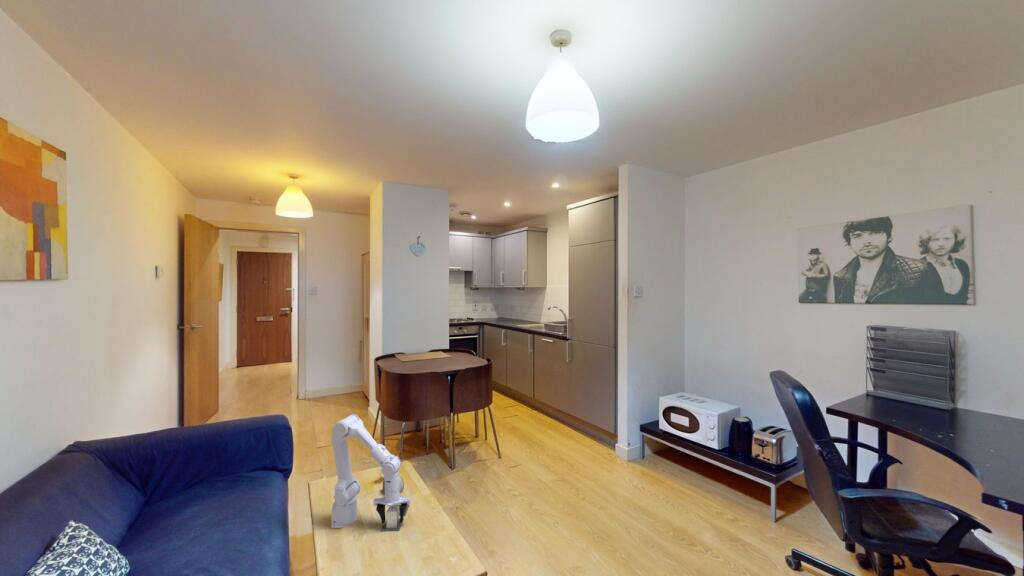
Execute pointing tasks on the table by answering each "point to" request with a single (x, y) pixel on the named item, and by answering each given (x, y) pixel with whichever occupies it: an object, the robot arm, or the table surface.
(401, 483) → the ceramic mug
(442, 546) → the table surface
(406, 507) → the panel
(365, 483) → the table surface
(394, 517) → the plug
